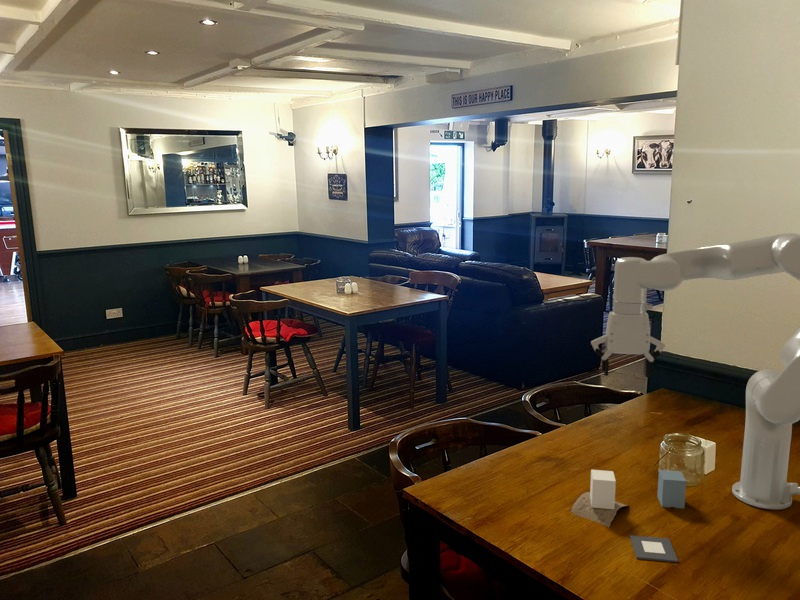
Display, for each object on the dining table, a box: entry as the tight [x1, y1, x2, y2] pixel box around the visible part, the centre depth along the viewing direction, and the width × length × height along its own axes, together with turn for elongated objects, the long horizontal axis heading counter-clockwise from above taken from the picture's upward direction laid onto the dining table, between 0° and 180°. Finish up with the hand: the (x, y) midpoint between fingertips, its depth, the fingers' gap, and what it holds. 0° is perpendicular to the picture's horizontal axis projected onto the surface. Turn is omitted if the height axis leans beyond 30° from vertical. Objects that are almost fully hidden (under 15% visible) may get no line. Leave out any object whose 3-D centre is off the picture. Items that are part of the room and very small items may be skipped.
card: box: [629, 534, 679, 563], centre depth 130 cm, size 8×8×1 cm
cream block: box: [589, 469, 617, 509], centre depth 145 cm, size 5×5×7 cm
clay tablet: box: [569, 491, 629, 529], centre depth 146 cm, size 14×10×3 cm
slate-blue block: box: [656, 469, 687, 509], centre depth 148 cm, size 5×5×7 cm
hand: (625, 374), depth 155 cm, fingers open, 9 cm apart
